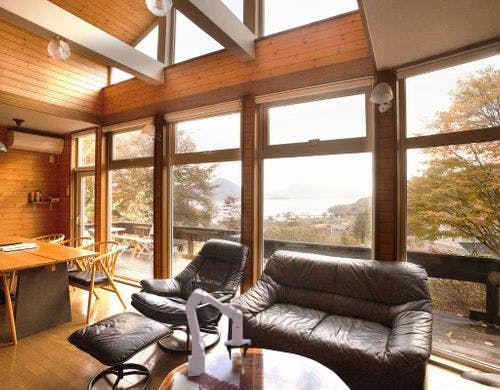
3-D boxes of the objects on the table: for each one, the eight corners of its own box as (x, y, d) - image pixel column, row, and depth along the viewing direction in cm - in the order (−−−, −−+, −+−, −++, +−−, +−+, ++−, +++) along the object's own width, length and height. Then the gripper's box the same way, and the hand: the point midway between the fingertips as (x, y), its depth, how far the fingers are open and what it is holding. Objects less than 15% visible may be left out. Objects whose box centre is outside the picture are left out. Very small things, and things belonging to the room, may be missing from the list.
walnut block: (233, 373, 162) (233, 365, 162) (232, 368, 167) (232, 361, 167) (242, 372, 163) (242, 364, 163) (240, 367, 167) (241, 360, 168)
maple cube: (233, 365, 162) (233, 356, 162) (232, 361, 167) (232, 353, 167) (241, 364, 163) (241, 356, 163) (240, 360, 167) (240, 352, 168)
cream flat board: (229, 375, 160) (229, 374, 160) (228, 367, 169) (228, 366, 169) (249, 373, 162) (249, 372, 162) (247, 365, 171) (247, 364, 171)
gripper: (225, 337, 160) (224, 363, 160) (251, 335, 163) (251, 360, 162) (223, 331, 167) (223, 356, 167) (249, 330, 170) (249, 354, 169)
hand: (237, 358), depth 165 cm, fingers open, 7 cm apart
